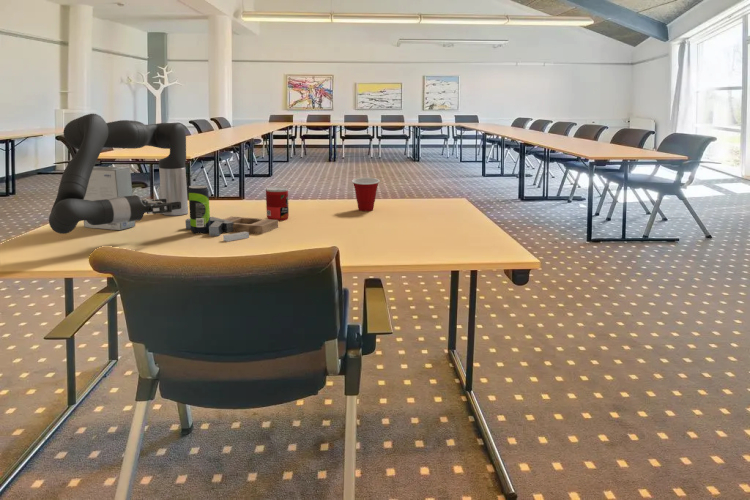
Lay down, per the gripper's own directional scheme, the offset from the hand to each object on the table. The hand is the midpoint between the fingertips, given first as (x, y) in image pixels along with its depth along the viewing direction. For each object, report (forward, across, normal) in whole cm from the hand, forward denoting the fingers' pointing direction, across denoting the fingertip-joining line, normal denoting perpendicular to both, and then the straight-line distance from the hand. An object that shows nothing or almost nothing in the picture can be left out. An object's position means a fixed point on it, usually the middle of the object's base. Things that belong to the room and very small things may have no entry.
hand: (173, 203), depth 196 cm
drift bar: (+12, -16, +11) cm, 23 cm away
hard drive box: (-7, +29, +11) cm, 32 cm away
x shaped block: (+13, +1, +10) cm, 17 cm away
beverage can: (+10, +1, +11) cm, 14 cm away
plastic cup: (+77, -10, +10) cm, 78 cm away
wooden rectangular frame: (+23, -5, +10) cm, 26 cm away
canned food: (+42, 0, +10) cm, 43 cm away
